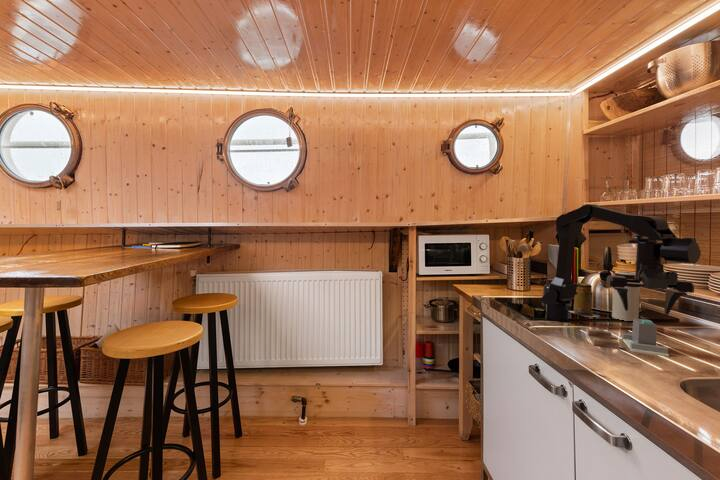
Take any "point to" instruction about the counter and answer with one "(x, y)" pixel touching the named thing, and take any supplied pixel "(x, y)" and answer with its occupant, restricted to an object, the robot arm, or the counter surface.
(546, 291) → the supplement bottle
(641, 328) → the plug
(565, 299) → the robot arm
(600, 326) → the counter surface
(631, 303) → the travel mug
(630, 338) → the cradle
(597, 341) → the walnut dock
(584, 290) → the condiment
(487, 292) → the counter surface
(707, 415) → the counter surface
